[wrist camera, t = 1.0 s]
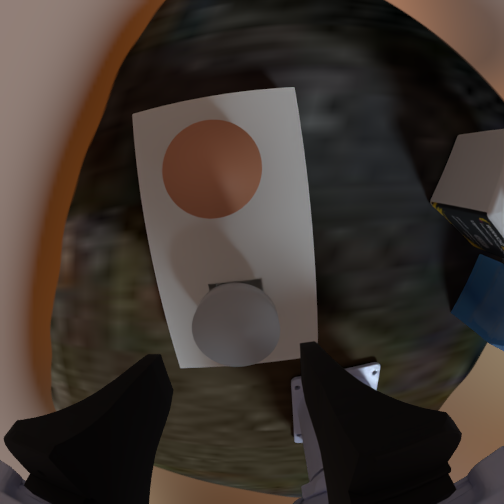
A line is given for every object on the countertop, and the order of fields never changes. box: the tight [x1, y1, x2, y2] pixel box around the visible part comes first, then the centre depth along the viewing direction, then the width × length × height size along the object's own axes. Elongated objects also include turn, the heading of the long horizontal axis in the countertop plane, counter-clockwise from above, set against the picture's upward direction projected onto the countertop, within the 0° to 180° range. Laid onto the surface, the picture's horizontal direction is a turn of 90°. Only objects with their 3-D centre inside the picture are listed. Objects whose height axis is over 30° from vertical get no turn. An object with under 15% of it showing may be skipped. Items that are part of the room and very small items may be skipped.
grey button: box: [192, 283, 280, 367], centre depth 16 cm, size 4×4×4 cm
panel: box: [132, 87, 318, 368], centre depth 17 cm, size 17×10×3 cm, turn 7°
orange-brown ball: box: [162, 120, 262, 219], centre depth 14 cm, size 4×4×4 cm
